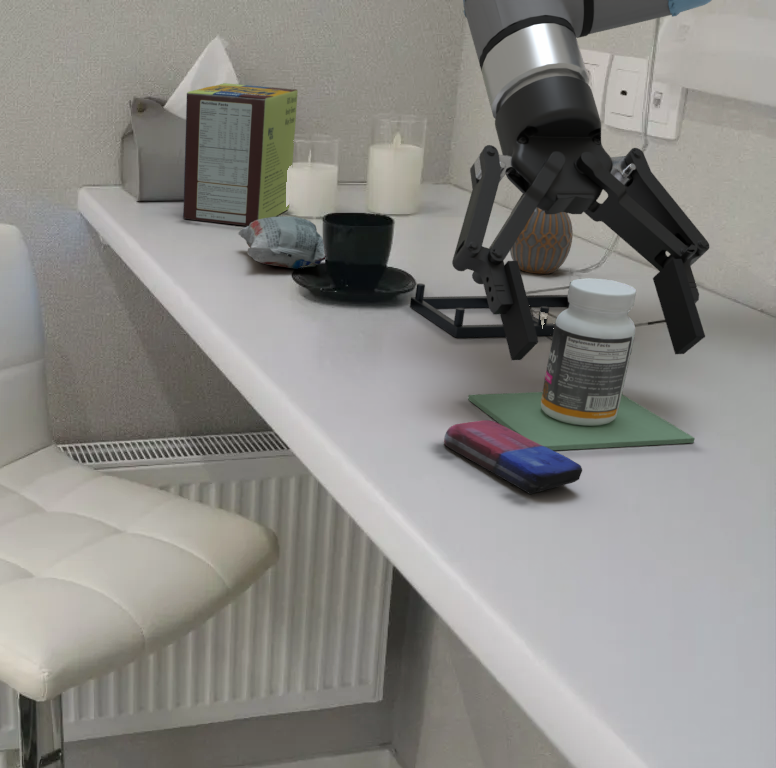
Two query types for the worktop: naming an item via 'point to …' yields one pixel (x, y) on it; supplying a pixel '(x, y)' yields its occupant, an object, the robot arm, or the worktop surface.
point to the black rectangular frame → (459, 302)
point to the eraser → (512, 456)
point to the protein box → (238, 152)
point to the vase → (543, 242)
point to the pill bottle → (590, 353)
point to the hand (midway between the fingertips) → (609, 349)
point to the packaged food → (284, 242)
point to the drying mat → (536, 425)
